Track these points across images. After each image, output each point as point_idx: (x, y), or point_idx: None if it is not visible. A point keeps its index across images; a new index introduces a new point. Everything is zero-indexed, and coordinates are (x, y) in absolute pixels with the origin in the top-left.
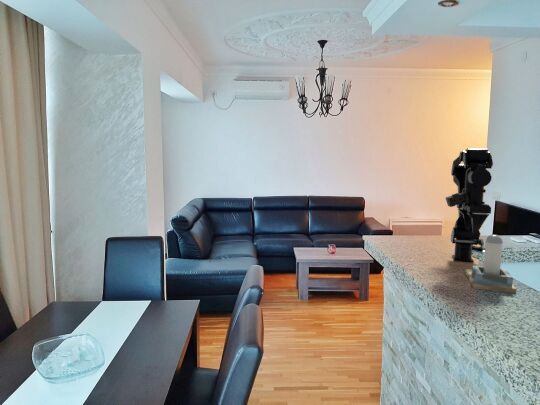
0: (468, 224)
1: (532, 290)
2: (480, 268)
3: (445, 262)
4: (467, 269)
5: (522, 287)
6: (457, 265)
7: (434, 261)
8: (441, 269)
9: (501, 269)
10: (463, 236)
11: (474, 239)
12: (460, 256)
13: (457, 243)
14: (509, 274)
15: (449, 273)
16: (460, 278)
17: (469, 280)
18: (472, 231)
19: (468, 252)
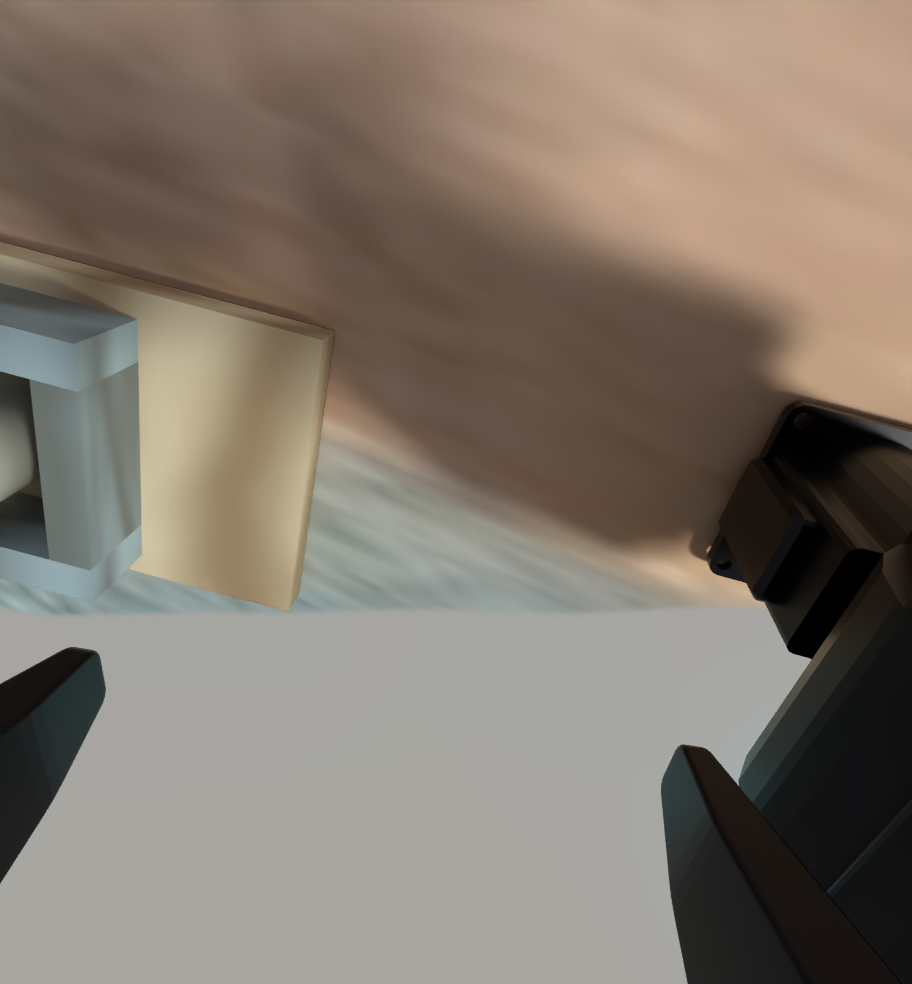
0: (704, 900)
1: (34, 613)
2: (41, 400)
3: (727, 259)
4: (312, 356)
5: None
6: (596, 357)
7: (789, 111)
8: (411, 82)
9: (44, 560)
10: (828, 650)
11: (754, 745)
12: (764, 473)
13: (908, 533)
14: None
15: (266, 133)
16: (120, 197)
17: (68, 261)
18: (796, 835)
19: (743, 574)
